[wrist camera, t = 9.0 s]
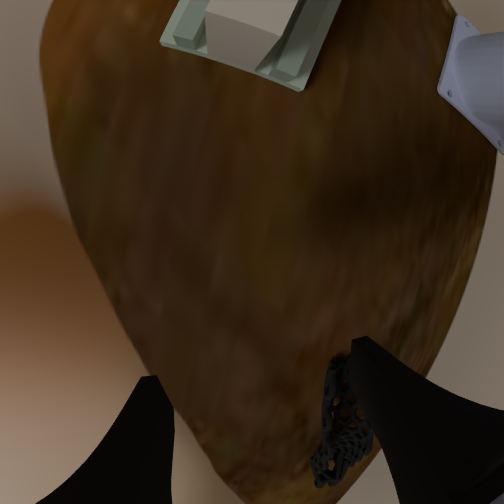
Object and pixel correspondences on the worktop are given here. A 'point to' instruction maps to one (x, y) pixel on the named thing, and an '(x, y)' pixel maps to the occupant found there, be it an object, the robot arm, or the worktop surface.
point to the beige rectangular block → (245, 29)
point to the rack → (281, 54)
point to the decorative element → (339, 430)
